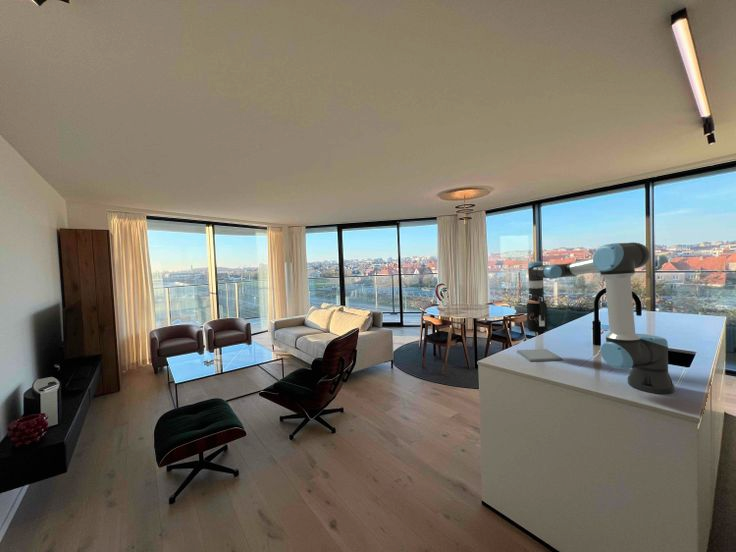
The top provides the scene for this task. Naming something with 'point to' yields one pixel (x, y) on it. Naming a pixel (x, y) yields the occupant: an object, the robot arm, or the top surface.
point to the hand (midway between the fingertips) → (537, 323)
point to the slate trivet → (538, 355)
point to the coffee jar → (535, 317)
